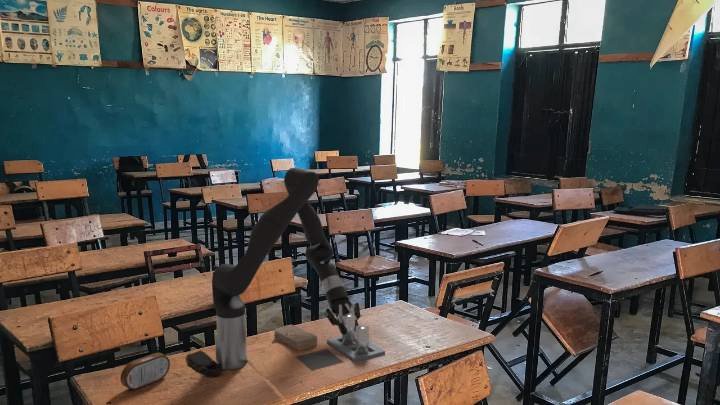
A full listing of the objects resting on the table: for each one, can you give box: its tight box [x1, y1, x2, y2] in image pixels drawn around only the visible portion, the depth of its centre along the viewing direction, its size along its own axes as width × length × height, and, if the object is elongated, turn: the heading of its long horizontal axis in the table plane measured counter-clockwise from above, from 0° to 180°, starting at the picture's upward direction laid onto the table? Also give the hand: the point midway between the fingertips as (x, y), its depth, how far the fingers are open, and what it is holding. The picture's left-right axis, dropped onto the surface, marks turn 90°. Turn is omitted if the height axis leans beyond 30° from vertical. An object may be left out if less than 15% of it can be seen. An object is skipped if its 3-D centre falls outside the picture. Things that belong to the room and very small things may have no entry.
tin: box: [120, 352, 171, 390], centre depth 162 cm, size 15×3×8 cm, turn 142°
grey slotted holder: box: [326, 332, 386, 363], centre depth 187 cm, size 12×19×2 cm, turn 32°
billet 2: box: [355, 324, 370, 355], centre depth 183 cm, size 5×5×10 cm
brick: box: [273, 324, 318, 351], centre depth 193 cm, size 17×8×5 cm, turn 41°
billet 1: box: [341, 313, 356, 346], centre depth 190 cm, size 5×5×10 cm
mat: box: [295, 348, 345, 372], centre depth 178 cm, size 12×12×1 cm
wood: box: [186, 350, 223, 378], centre depth 175 cm, size 22×7×3 cm, turn 38°
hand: (351, 332), depth 189 cm, fingers closed on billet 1, 4 cm apart
